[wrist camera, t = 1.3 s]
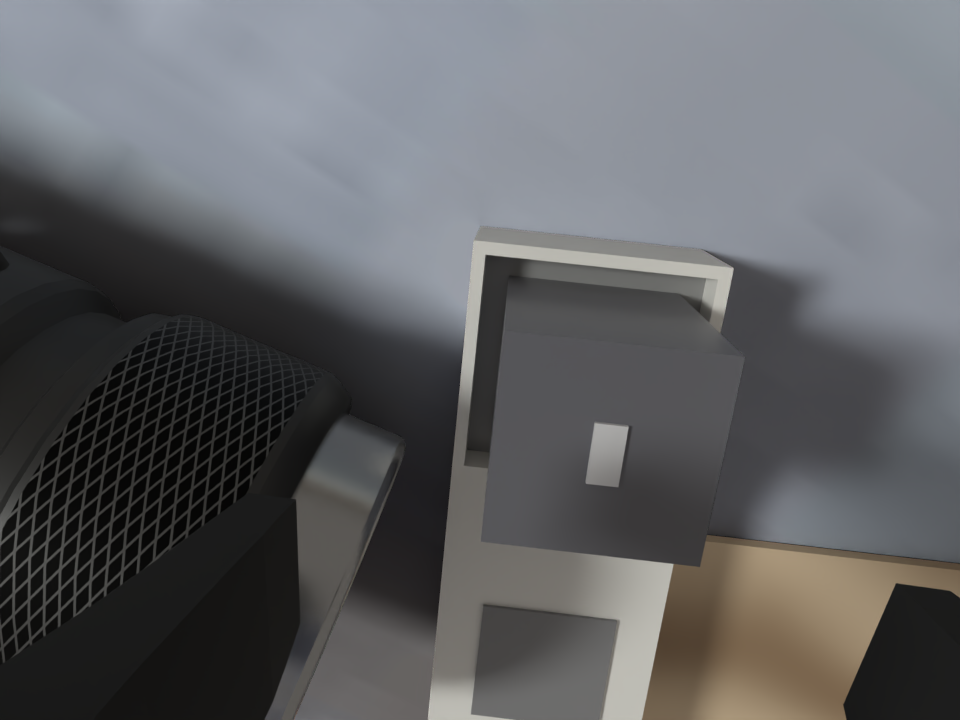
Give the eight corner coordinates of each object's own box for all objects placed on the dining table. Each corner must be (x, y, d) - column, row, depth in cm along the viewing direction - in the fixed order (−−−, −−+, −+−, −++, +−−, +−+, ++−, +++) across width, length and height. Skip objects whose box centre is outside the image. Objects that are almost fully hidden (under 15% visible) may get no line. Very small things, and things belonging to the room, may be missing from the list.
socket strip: (594, 817, 25) (606, 924, 22) (424, 796, 25) (409, 899, 22) (702, 249, 19) (741, 272, 16) (480, 226, 19) (471, 243, 16)
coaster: (885, 795, 24) (891, 806, 24) (619, 763, 24) (621, 773, 24) (964, 564, 22) (972, 572, 21) (665, 529, 22) (668, 537, 21)
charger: (649, 449, 19) (700, 569, 14) (491, 431, 19) (480, 544, 14) (678, 293, 18) (746, 358, 12) (509, 275, 18) (504, 331, 12)
